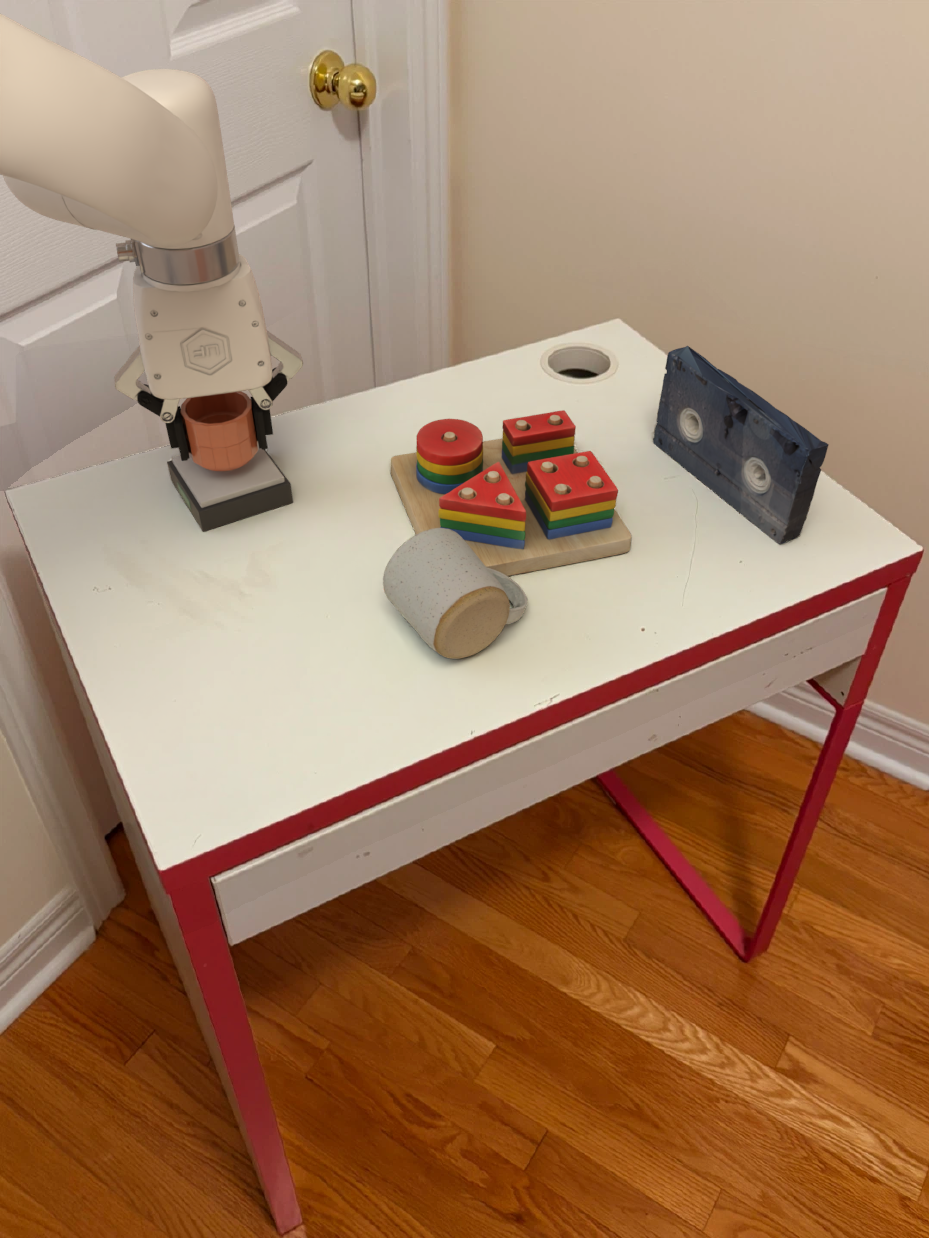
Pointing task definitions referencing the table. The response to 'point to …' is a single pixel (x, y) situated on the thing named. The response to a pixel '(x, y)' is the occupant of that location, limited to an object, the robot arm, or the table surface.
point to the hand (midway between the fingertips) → (223, 444)
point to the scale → (230, 489)
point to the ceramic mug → (450, 593)
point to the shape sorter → (512, 493)
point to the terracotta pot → (220, 430)
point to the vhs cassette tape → (738, 444)
